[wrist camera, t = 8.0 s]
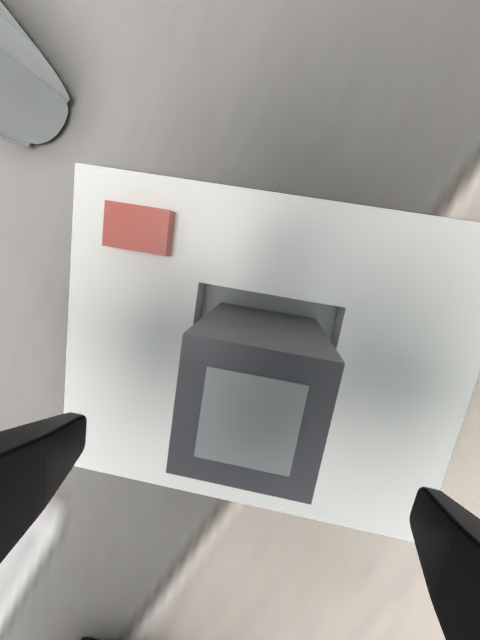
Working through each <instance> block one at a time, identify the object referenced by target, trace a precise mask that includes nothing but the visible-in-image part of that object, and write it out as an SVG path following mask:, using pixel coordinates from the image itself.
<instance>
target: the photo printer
mask: <svg viewBox="0 0 480 640" xmlns="http://www.w3.org/2000/svg"><path fill="white" fill-rule="evenodd" d="M69 100H70V98H69V95H68V93H67V91H66V89H65V88H64V86H63V84H62V82H61V81H60V79H59V78H58V76H57V74H56V73H55V72H54V70H53V69H52V67H51V66H50V65H49V63H48V62H47V61H46V59H45V58H44V57H43V55H42V54H41V52H40V51H39V49H38V48H37V47H36V46H35V45H34V43H33V42H32V41H31V40H30V38H29V37H28V36H27V34H26V33H25V32H24V30H23V29H22V28H21V27H20V25H19V24H18V23H17V21H16V20H15V19H14V18H13V16H12V15H11V14H10V12H9V11H8V10H7V9H6V7H5V6H4V5H3V4H2V2H1V1H0V138H2V139H4V140H7V141H9V142H11V143H13V144H16V145H19V146H23V147H28V146H29V145H30V144H31V143H33V144H42V143H45V142H48V141H49V140H51V139H52V138H54V137H55V136H56V135H57V134H58V133H59V132H60V130H61V129H62V127H63V126H64V124H65V121H66V118H67V115H68V106H67V102H68V101H69Z"/></svg>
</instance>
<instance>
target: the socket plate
mask: <svg viewBox="0 0 480 640" xmlns="http://www.w3.org/2000/svg"><path fill="white" fill-rule="evenodd" d="M221 302H222V303H228V304H234V305H239V306H245V307H251V308H256V309H262V310H268V311H274V312H279V313H285V314H291V315H296V316H302V317H308V318H314V319H316V320H317V321H318V323H319V324H320V326H321V327H322V329H323V330H324V332H325V333H326V335H327V336H328V338H329V340H330V341H331V343H332V344H333V346H334V347H335V349H336V350H337V352H338V353H339V355H340V356H341V358H342V359H343V361H344V362H345V366H344V370H343V374H342V379H341V383H340V387H339V391H338V395H337V399H336V403H335V408H334V412H333V416H332V420H331V424H330V428H329V432H328V437H327V441H326V445H325V449H324V453H323V457H322V462H321V466H320V470H319V474H318V478H317V482H316V486H315V491H314V495H313V499H312V503H311V505H310V504H306V503H301V502H297V501H292V500H287V499H283V498H278V497H274V496H269V495H265V494H260V493H256V492H251V491H247V490H242V489H238V488H233V487H228V486H224V485H219V484H215V483H210V482H206V481H201V480H197V479H192V478H188V477H183V476H178V475H174V474H169V473H166V466H167V458H168V450H169V442H170V434H171V426H172V417H173V409H174V401H175V393H176V385H177V377H178V369H179V361H180V353H181V345H182V337H183V333H184V332H185V331H186V330H188V329H189V328H190V327H191V326H193V325H194V324H195V323H196V322H197V321H199V320H200V319H201V318H202V317H204V316H205V315H206V314H207V313H208V312H210V311H211V310H212V309H213V308H215V307H216V306H217V305H218V304H219V303H221ZM479 373H480V222H473V221H466V220H459V219H452V218H446V217H439V216H432V215H425V214H419V213H412V212H405V211H398V210H392V209H385V208H378V207H371V206H364V205H358V204H351V203H344V202H337V201H331V200H324V199H317V198H310V197H304V196H297V195H290V194H283V193H276V192H270V191H263V190H256V189H249V188H243V187H236V186H229V185H222V184H216V183H209V182H202V181H195V180H188V179H182V178H175V177H168V176H161V175H155V174H148V173H141V172H134V171H128V170H121V169H114V168H107V167H100V166H94V165H87V164H80V163H75V178H74V199H73V221H72V243H71V265H70V287H69V308H68V330H67V352H66V374H65V396H64V414H65V413H69V412H73V413H77V414H82V415H85V417H86V419H87V427H86V443H85V447H84V450H83V452H82V454H81V455H80V457H79V458H78V460H77V461H76V463H75V464H74V466H76V467H81V468H85V469H90V470H94V471H98V472H103V473H107V474H112V475H116V476H121V477H125V478H130V479H134V480H138V481H143V482H147V483H152V484H156V485H161V486H165V487H170V488H174V489H178V490H183V491H187V492H192V493H196V494H201V495H205V496H210V497H214V498H218V499H223V500H227V501H232V502H236V503H241V504H245V505H250V506H254V507H258V508H263V509H267V510H272V511H276V512H281V513H285V514H290V515H294V516H298V517H303V518H307V519H312V520H316V521H321V522H325V523H330V524H334V525H338V526H343V527H347V528H352V529H356V530H361V531H365V532H370V533H374V534H379V535H383V536H387V537H392V538H396V539H401V540H405V541H410V542H414V538H413V534H412V531H411V527H410V520H409V518H410V512H411V509H412V506H413V503H414V500H415V497H416V494H417V491H418V489H419V488H421V487H428V488H433V489H437V490H440V488H441V485H442V482H443V479H444V476H445V473H446V470H447V467H448V464H449V461H450V458H451V455H452V452H453V450H454V447H455V444H456V441H457V438H458V435H459V432H460V429H461V426H462V423H463V420H464V417H465V414H466V411H467V408H468V405H469V402H470V399H471V397H472V394H473V391H474V388H475V385H476V382H477V379H478V376H479ZM414 543H415V542H414Z"/></svg>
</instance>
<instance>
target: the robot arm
mask: <svg viewBox="0 0 480 640" xmlns="http://www.w3.org/2000/svg"><path fill="white" fill-rule="evenodd" d="M86 427H87V419H86V417H85V415H82V414H77V413H73V412H69V413H65V414H61V415H58V416H54V417H51V418H47V419H43V420H40V421H36V422H33V423H29V424H26V425H22V426H18V427H15V428H11V429H8V430H4V431H0V563H1V562H2V561H3V560H4V558H5V557H6V556H7V555H8V553H9V552H10V551H11V550H12V548H13V547H14V546H15V545H16V543H17V542H18V541H19V540H20V539H21V537H22V536H23V535H24V534H25V532H26V531H27V530H28V529H29V527H30V526H31V525H32V524H33V522H34V521H35V520H36V519H37V518H38V516H39V515H40V514H41V512H42V511H43V510H44V509H45V507H46V506H47V504H48V503H49V502H50V500H51V499H52V497H53V496H54V494H55V493H56V491H57V490H58V488H59V487H60V485H61V484H62V482H63V481H64V479H65V478H66V476H67V475H68V473H69V472H70V470H71V469H72V467H73V466H74V464H75V463H76V461H77V460H78V458H79V457H80V455H81V454H82V452H83V450H84V447H85V443H86ZM409 520H410V527H411V531H412V534H413V538H414V542H415V545H416V549H417V552H418V556H419V560H420V563H421V567H422V570H423V574H424V577H425V581H426V585H427V588H428V591H429V594H430V598H431V601H432V603H433V606H434V609H435V612H436V615H437V617H438V620H439V623H440V625H441V628H442V631H443V633H444V636H445V639H446V640H480V519H479V518H477V517H476V516H475V515H473V514H472V513H471V512H469V511H468V510H466V509H465V508H464V507H462V506H461V505H460V504H458V503H457V502H455V501H454V500H453V499H451V498H450V497H448V496H447V495H446V494H444V493H443V492H442V491H440V490H437V489H433V488H428V487H421V488H419V489H418V491H417V494H416V497H415V500H414V503H413V506H412V509H411V512H410V518H409Z"/></svg>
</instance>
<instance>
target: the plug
mask: <svg viewBox="0 0 480 640" xmlns="http://www.w3.org/2000/svg"><path fill="white" fill-rule="evenodd" d="M344 366H345V362H344V361H343V359H342V358H341V356H340V355H339V353H338V352H337V350H336V349H335V347H334V346H333V344H332V343H331V341H330V340H329V338H328V336H327V335H326V333H325V332H324V330H323V329H322V327H321V326H320V324H319V323H318V321H317V320H316V319H314V318H308V317H302V316H296V315H291V314H285V313H279V312H274V311H268V310H262V309H256V308H251V307H245V306H239V305H234V304H228V303H222V302H221V303H219V304H218V305H217V306H216V307H215V308H213V309H212V310H211V311H210V312H208V313H207V314H206V315H205V316H204V317H202V318H201V319H200V320H199V321H197V322H196V323H195V324H194V325H193V326H191V327H190V328H189V329H188V330H186V331H185V332H184V333H183V337H182V345H181V353H180V361H179V369H178V377H177V385H176V393H175V401H174V409H173V417H172V426H171V434H170V442H169V450H168V458H167V466H166V473H169V474H174V475H178V476H183V477H188V478H192V479H197V480H201V481H206V482H210V483H215V484H219V485H224V486H228V487H233V488H238V489H242V490H247V491H251V492H256V493H260V494H265V495H269V496H274V497H278V498H283V499H287V500H292V501H297V502H301V503H306V504H310V505H311V503H312V499H313V495H314V491H315V486H316V482H317V478H318V474H319V470H320V466H321V462H322V457H323V453H324V449H325V445H326V441H327V437H328V432H329V428H330V424H331V420H332V416H333V412H334V408H335V403H336V399H337V395H338V391H339V387H340V383H341V379H342V374H343V370H344Z"/></svg>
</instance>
